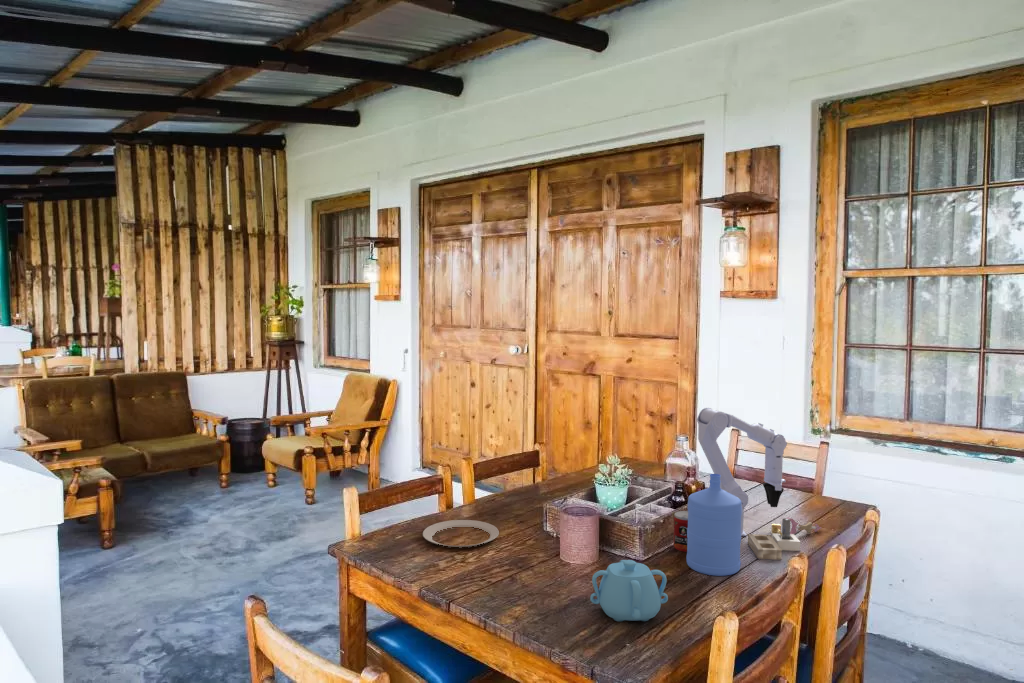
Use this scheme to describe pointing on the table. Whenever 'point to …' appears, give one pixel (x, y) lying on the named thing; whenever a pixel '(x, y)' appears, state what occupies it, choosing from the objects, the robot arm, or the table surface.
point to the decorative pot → (629, 591)
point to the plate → (460, 523)
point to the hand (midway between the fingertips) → (772, 505)
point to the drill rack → (764, 546)
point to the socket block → (787, 542)
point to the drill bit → (786, 529)
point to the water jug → (714, 530)
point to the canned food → (680, 530)
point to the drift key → (776, 529)
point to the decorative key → (803, 527)
